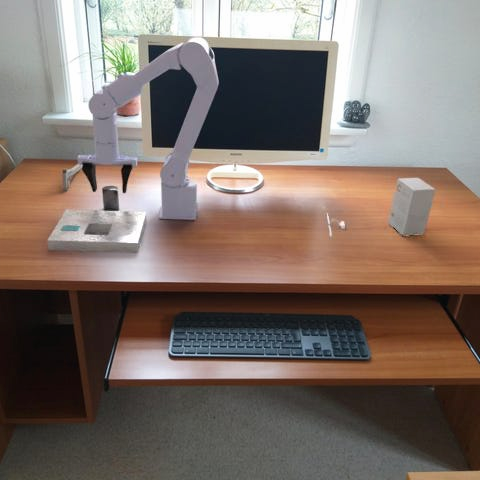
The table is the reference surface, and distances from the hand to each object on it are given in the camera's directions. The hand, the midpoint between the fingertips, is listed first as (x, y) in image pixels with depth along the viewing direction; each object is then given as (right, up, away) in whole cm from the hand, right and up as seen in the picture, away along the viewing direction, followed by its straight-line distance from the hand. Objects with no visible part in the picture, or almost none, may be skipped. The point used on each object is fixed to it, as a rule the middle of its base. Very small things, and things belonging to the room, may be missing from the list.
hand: (109, 191), depth 131 cm
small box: (+78, -10, +2) cm, 78 cm away
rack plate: (0, -11, -10) cm, 15 cm away
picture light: (+59, -9, +2) cm, 60 cm away
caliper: (-16, +6, +20) cm, 26 cm away
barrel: (0, -5, +3) cm, 5 cm away
